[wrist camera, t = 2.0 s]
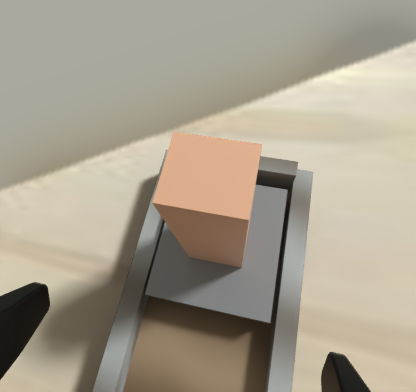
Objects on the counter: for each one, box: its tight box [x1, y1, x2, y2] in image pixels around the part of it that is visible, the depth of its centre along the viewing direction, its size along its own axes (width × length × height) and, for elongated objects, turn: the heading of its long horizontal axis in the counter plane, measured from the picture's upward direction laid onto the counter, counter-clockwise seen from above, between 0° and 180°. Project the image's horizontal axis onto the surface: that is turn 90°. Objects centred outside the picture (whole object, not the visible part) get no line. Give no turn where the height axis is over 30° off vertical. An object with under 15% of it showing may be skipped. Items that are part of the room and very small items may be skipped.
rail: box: [92, 150, 313, 392], centre depth 18 cm, size 21×10×4 cm, turn 168°
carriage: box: [145, 132, 288, 323], centre depth 15 cm, size 8×7×11 cm
